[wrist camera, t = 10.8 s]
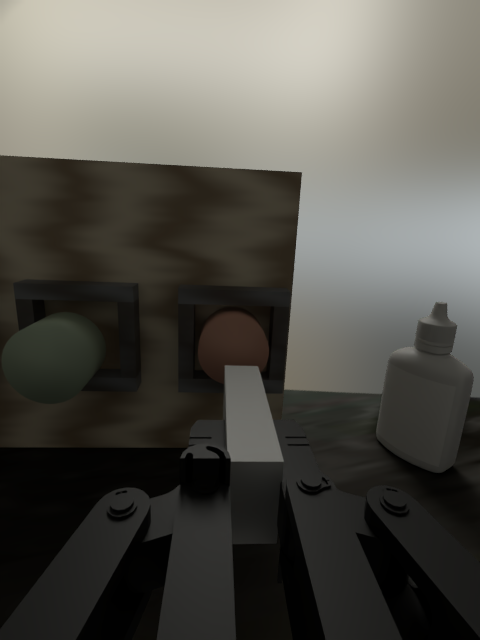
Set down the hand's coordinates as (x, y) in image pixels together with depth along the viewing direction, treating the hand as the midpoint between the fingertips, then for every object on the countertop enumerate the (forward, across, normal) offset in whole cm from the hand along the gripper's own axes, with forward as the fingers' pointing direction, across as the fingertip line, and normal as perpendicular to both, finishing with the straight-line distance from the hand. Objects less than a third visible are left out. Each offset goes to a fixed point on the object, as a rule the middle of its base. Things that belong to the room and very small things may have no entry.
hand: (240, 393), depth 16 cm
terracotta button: (+8, 0, -2) cm, 8 cm away
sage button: (+5, -10, -2) cm, 11 cm away
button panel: (+11, -10, -9) cm, 17 cm away
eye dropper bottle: (+9, +14, -10) cm, 19 cm away
